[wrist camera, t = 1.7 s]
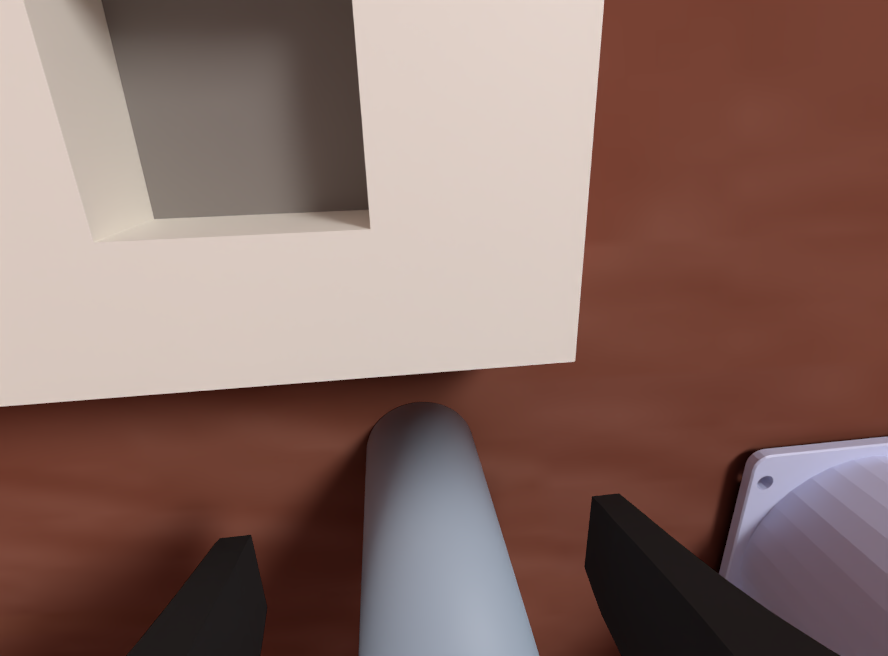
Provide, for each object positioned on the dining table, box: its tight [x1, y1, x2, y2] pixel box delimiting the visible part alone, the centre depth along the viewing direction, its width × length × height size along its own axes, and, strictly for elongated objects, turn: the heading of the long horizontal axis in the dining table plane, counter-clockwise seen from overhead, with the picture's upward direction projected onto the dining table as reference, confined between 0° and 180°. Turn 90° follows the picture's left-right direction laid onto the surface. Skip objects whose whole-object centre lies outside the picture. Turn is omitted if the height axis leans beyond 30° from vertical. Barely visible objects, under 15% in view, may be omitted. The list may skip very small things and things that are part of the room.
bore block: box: [0, 0, 604, 407], centre depth 9 cm, size 10×12×3 cm
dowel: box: [359, 402, 539, 656], centre depth 11 cm, size 3×3×7 cm
